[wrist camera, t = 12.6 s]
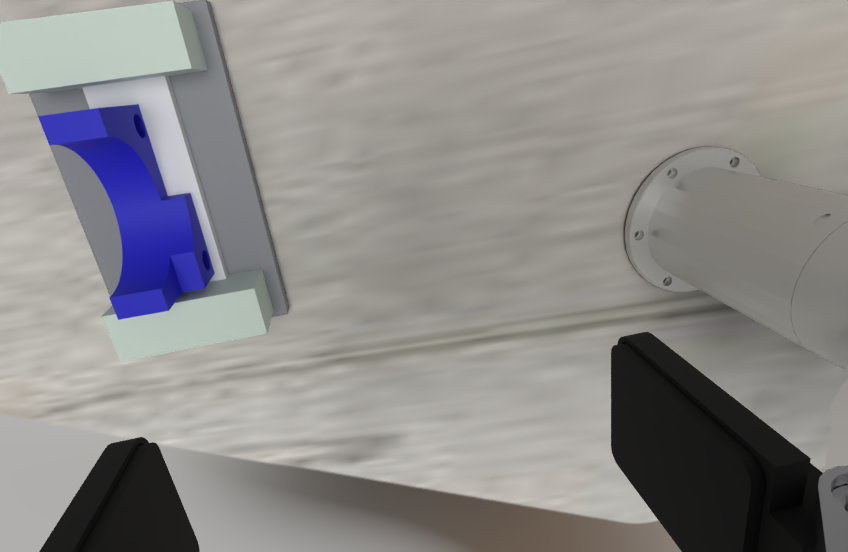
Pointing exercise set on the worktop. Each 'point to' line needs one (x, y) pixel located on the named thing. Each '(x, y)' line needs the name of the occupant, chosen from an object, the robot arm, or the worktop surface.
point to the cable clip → (138, 208)
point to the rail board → (158, 156)
